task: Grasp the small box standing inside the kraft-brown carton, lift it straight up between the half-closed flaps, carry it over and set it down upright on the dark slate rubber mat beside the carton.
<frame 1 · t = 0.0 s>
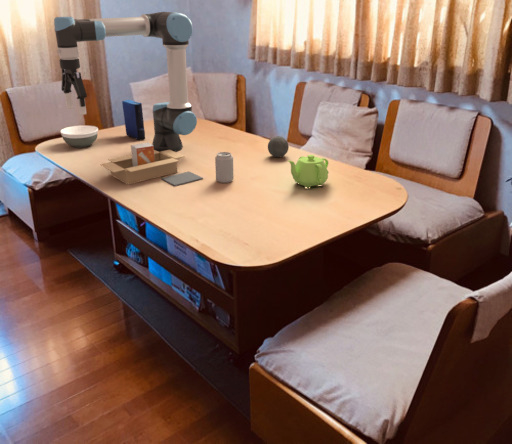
hand: (76, 111, 220), 28 cm above the table, fingers open, 13 cm apart
carton: (144, 173, 234), on the table
small box: (144, 174, 234), resting in carton
decorative ball: (277, 157, 257), on the table
can: (224, 181, 226), on the table
bowl: (81, 145, 275), on the table
teapot: (307, 185, 222), on the table
mat: (182, 179, 228), on the table
book: (135, 138, 288), on the table
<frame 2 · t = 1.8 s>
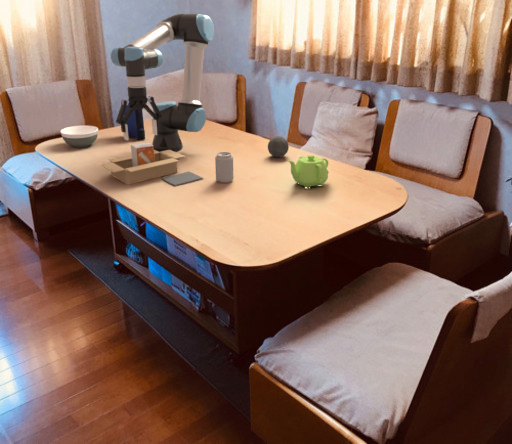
hand: (140, 137, 227), 17 cm above the table, fingers open, 13 cm apart
nothing on the table moved.
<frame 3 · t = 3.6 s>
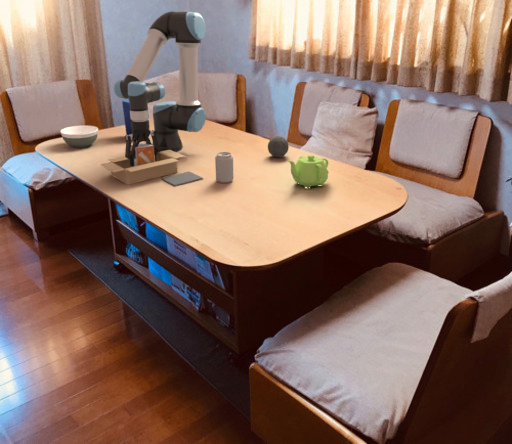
hand: (144, 170, 234), 1 cm above the table, fingers closed on small box, 8 cm apart
small box: (144, 174, 234), resting in carton, touching gripper
everything else where it was.
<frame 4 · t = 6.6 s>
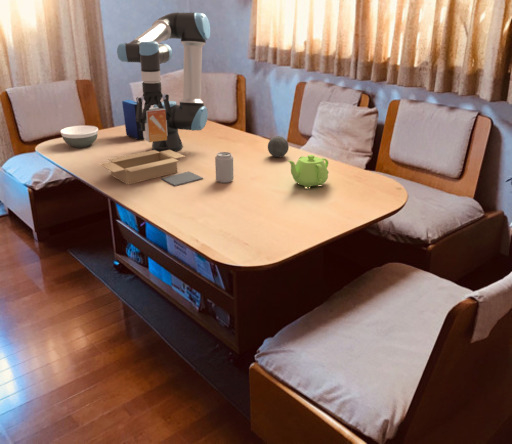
hand: (155, 136, 224), 18 cm above the table, fingers closed on small box, 8 cm apart
small box: (155, 140, 225), point 16 cm above the table, touching gripper
everything else where it was.
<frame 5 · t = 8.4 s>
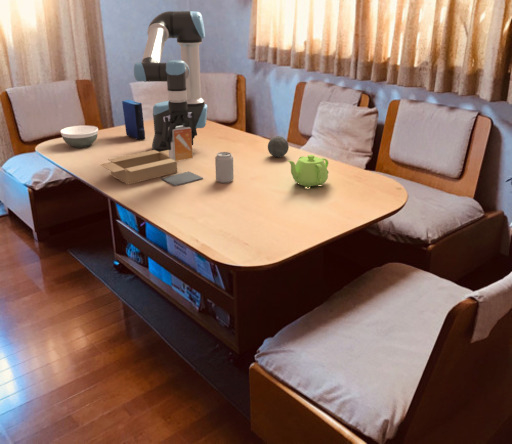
hand: (180, 154, 223), 11 cm above the table, fingers closed on small box, 8 cm apart
small box: (180, 158, 224), point 9 cm above the table, touching gripper
everything else where it was.
when the fingers open (4 cm above the table, at t = 9.9 s): small box drops 2 cm, resting on mat.
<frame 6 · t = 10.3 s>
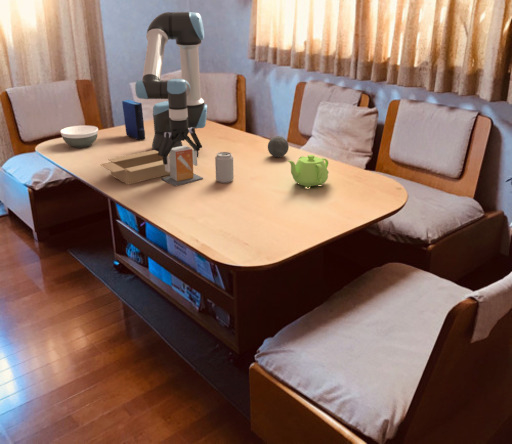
hand: (181, 168, 226), 5 cm above the table, fingers open, 13 cm apart
small box: (182, 178, 228), resting on mat
everything else where it was.
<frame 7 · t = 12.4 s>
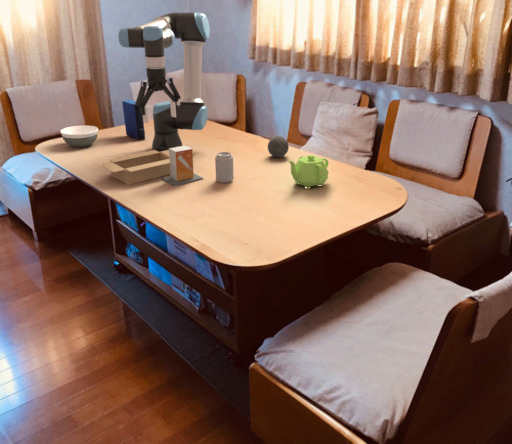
hand: (160, 119, 222), 25 cm above the table, fingers open, 13 cm apart
nothing on the table moved.
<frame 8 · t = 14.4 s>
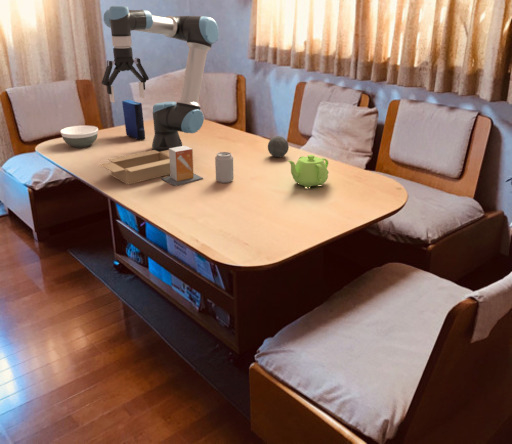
hand: (127, 99, 224), 32 cm above the table, fingers open, 13 cm apart
nothing on the table moved.
at the end: small box inside the target area (0.1 cm from its centre), resting on mat; small box tilted 0°; the gripper is holding nothing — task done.
